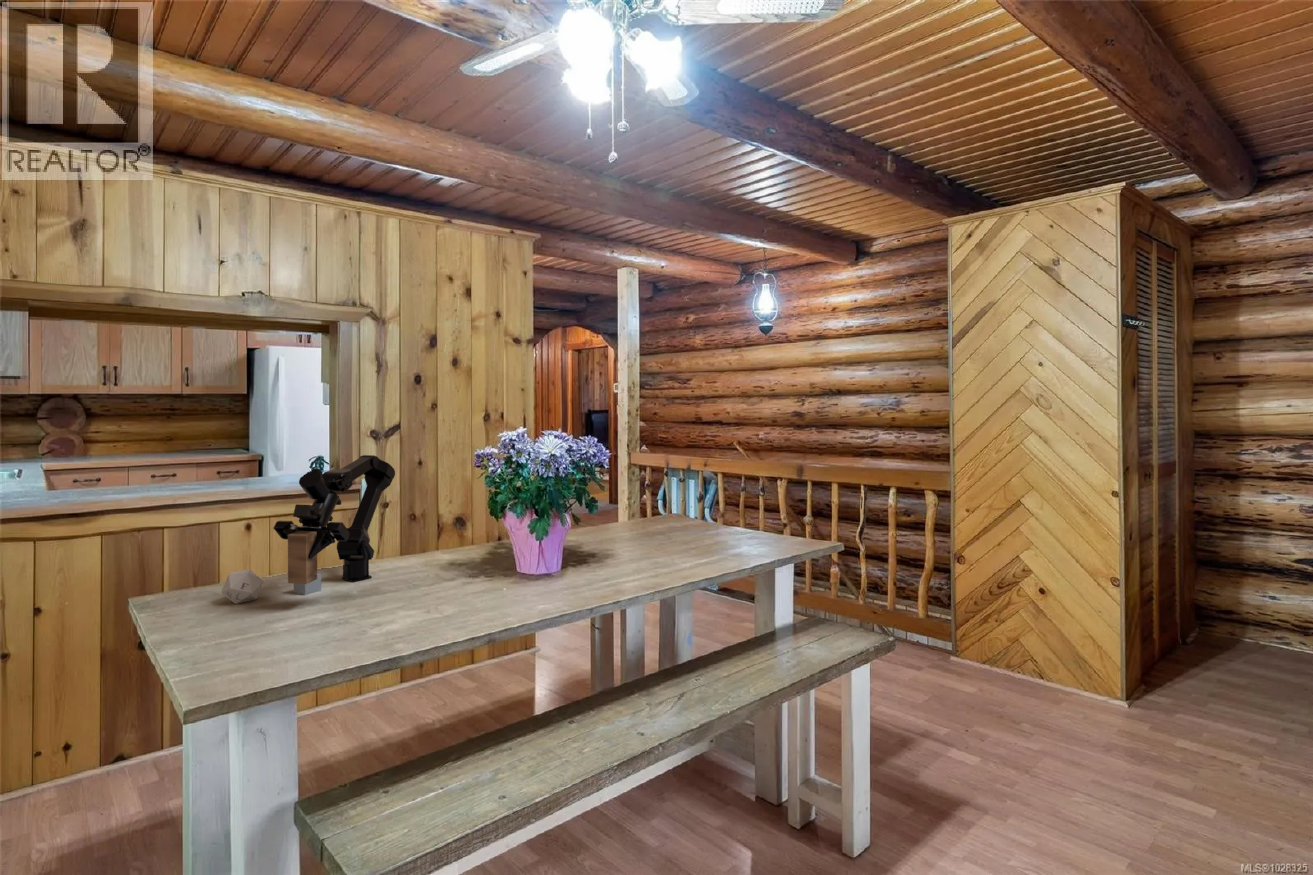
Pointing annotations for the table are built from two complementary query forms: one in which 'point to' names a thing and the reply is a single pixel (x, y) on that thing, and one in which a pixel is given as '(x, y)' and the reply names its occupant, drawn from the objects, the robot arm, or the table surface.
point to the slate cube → (309, 586)
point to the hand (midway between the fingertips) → (299, 557)
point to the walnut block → (301, 558)
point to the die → (242, 586)
